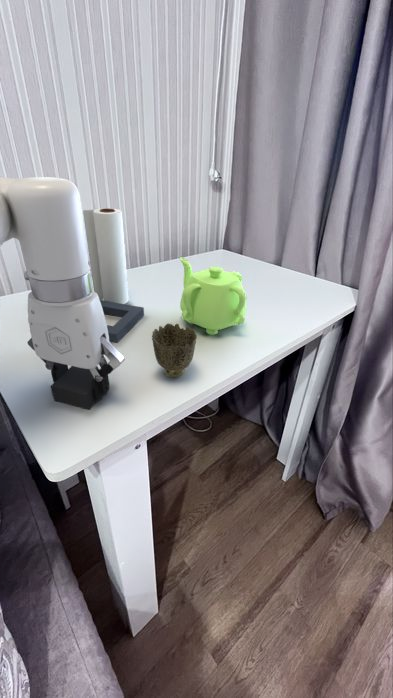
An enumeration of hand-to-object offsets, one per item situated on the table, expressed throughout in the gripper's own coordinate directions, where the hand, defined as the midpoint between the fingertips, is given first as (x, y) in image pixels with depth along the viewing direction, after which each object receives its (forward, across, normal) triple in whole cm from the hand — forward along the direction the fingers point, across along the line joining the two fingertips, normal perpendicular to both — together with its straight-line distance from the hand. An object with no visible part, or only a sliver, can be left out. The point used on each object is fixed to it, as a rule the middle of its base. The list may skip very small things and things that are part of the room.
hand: (82, 389), depth 53 cm
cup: (+1, +12, +10) cm, 16 cm away
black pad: (+1, 0, 0) cm, 1 cm away
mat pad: (+1, -10, +22) cm, 24 cm away
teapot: (+1, +13, +31) cm, 34 cm away
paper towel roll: (+1, -12, +33) cm, 35 cm away
